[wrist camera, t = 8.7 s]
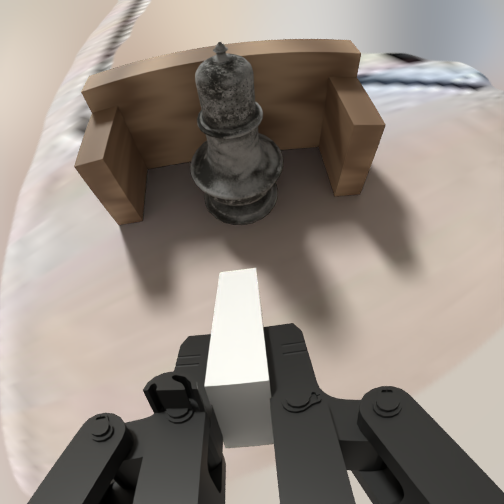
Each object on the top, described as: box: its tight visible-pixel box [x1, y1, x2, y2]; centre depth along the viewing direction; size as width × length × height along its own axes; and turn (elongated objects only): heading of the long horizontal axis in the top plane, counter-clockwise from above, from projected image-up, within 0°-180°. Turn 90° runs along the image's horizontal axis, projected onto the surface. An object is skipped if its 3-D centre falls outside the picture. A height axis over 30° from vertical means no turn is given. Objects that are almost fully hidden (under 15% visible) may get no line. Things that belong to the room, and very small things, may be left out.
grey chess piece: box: [190, 42, 283, 225], centre depth 17 cm, size 6×6×12 cm
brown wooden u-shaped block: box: [74, 39, 385, 225], centre depth 19 cm, size 18×7×9 cm, turn 97°
